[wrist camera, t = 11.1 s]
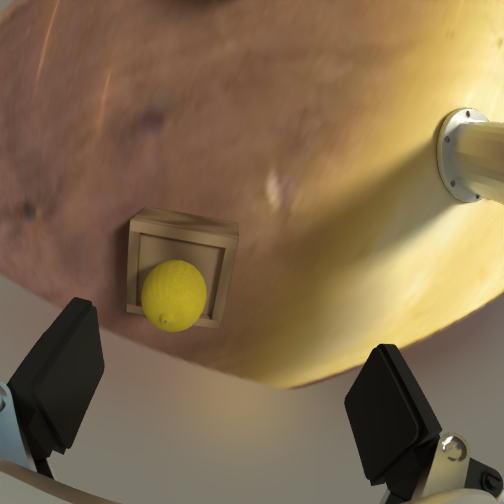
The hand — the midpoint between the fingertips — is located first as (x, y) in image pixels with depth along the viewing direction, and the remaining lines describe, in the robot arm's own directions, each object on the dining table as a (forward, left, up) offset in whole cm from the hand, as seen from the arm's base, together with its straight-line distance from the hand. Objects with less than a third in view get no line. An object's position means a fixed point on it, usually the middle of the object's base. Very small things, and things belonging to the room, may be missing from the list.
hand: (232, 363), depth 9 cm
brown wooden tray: (+4, +7, -23) cm, 24 cm away
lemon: (+4, +7, -19) cm, 20 cm away
